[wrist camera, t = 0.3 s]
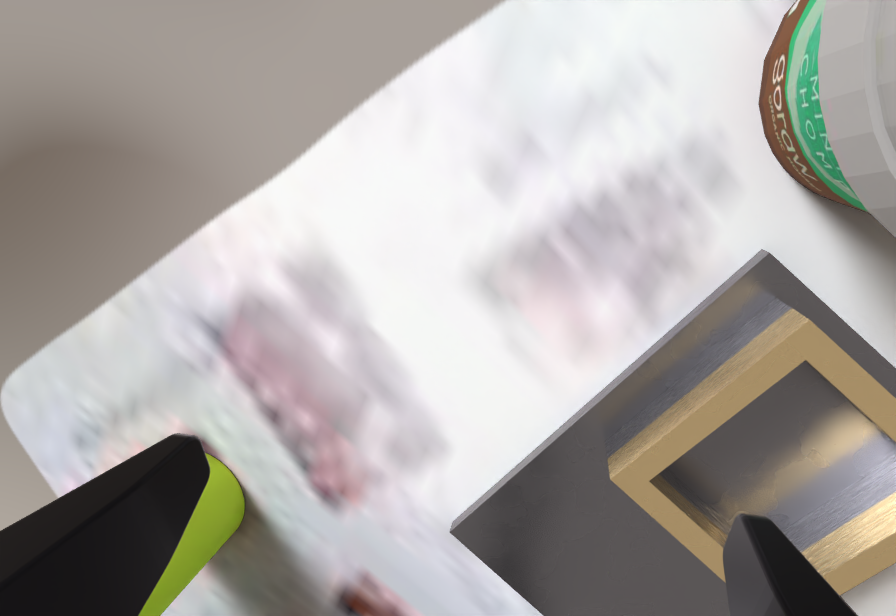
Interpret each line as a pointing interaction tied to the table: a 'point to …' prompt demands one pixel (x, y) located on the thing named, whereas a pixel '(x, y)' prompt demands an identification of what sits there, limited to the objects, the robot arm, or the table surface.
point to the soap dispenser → (200, 536)
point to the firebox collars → (705, 462)
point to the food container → (836, 101)
